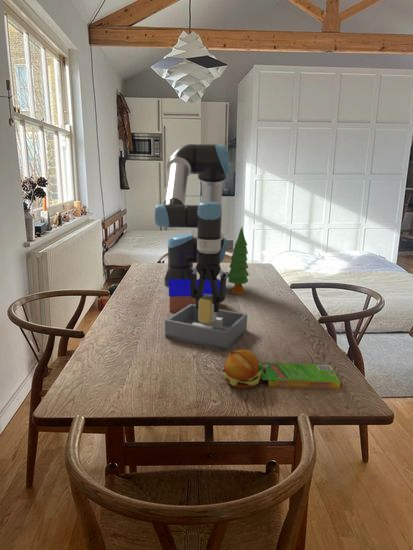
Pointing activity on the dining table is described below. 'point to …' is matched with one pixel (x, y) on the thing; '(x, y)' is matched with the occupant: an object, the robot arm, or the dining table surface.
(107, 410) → the dining table surface
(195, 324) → the box
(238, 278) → the decorative tree
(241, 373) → the cheeseburger
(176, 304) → the house
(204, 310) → the yellow jar
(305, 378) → the game box
